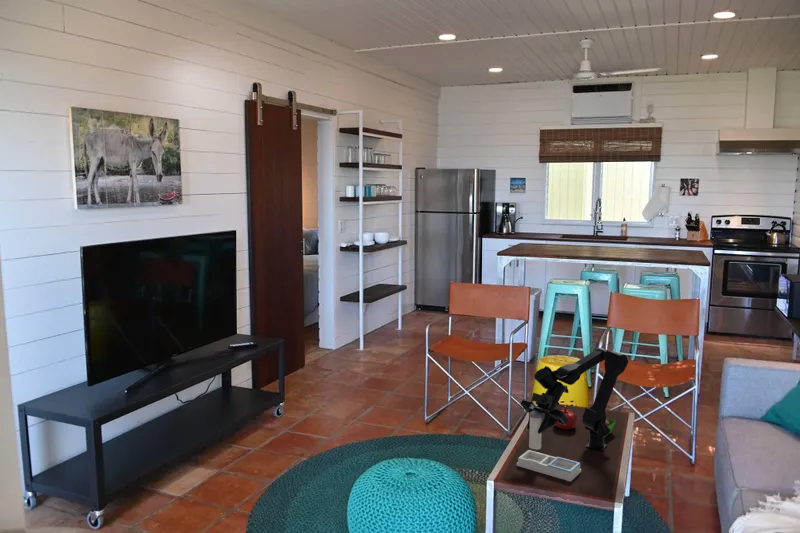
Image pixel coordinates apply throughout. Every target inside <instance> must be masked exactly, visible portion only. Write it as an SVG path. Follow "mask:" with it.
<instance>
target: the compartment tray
mask: <svg viewBox="0 0 800 533" xmlns="http://www.w3.org/2000/svg"><path fill="white" fill-rule="evenodd" d="M516 466H517V467H520V468H524V469H527V470H530V471H534V472H537V473H540V474H544V475H547V476H551V477H553V478H557V479H561V480H564V481H567V482H572V481H573V480H575V478H576V477H577V476H578V475H579V474H581V473H582V468H581V462H579V461H576V460H571V459H568V458H564V457H560V456H552V455H549V454H545V453H541V452H538V451H534V450H531V449H528V450H526V451H525V452H524V453H522V454H521V455H520V456H519V457H518V458H517V462H516Z"/></svg>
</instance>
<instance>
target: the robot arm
mask: <svg viewBox="0 0 800 533" xmlns="http://www.w3.org/2000/svg"><path fill="white" fill-rule="evenodd" d="M603 361H604V363H603V366H604V373H603V377H602V379H601V382H600V384H599V386H598V387H599V388H598V390H597V393H596V396H595V399H594V401H593V404H592V405H591V406H590V407H586V408H585V409H584V413H583V414H582V423H583V426H584V429H585V430H588V432H589V433H588V434H589V435H588V436H589V437H588V443H587V444H586V445H585V447H586V448H589V449H592V450H596V451H600V452H601V451H603V450H604V449H605V448H607V446H608V444H606V443H605V437H604V436H606V435H607V436H608V435H609V434H610V433H609V432H610V429H609V428H608V427H607V425H606V424H605V422H606V418H607V414H606V409H607V406H608V403H609V400H610V398H611V395H612V393H613V390H614V387H615V384H616V382H617V379H618V377H619V376H620V375H621V374H623V373H624V371H625V370H626V369H627V366H628V364H629V359H628V356H627V355H625V354H623V353H620V352H617V351H614V350H611V351H609V350H608V349H605V348H602V347H597V348H595V349H594V350H593V351H591V352H590V353H589V354H587V355H585V356H584V357H582V358H580V359H579V360H577V361H575V362H573V363H568V364H564V365H562V366H560V367H558V368H556V369H555V370H552V369H551V368H550V366H547V365H545V366H544V367H543V368H542V367H541V368H540V369H538V370H537V371H536V372H535V374H534V376H533V377H534V380H535V381H537V383H539V386H541V387H542V388H543V389H544V390H546V391H545V392H541V394H539V393H537V392H536V393H535V392H533V393H532V395H531V399H530V400H529V399H522V400H521V402H520V403H519V405H520V406H521V408H522V409H523V410H524V411H525V412H526V413H528V414H529V413H530V412H532V411H538V412H541V413H542V414H543V415H544V416H543V417H544V418H543V419H542V424H541V426H540V428H539V430H538V433H539V434H540V433H541V432H542V433H543V432H544V431H546V430H547V429H549V428H550V427H552V426H554V425H555V424H557V421H559V423H560V424H563V425H566V424H567V422H568V417H567V416H566V415H565V414H564V412H562V411H559V410H560V409H556V407H557V406H558V407H559V405H560V402H559V401H560V399H561V397H562V396H563V394H564V393H566V394H569V389H568V386H572V385H574V384H575V383H576V382H578V381H579V380H580V379H581V376H582V374H585V373H586V372H587V371H589V370H590V369H592V368H593V367H595V366H597V365H599V364H601V363H602V362H603ZM567 385H568V386H567ZM558 419H559V420H558ZM526 427H527V430H528V431H530V416H529V415H528V421H527V426H526ZM607 436H606V437H607Z"/></svg>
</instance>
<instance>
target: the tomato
mask: <svg viewBox="0 0 800 533" xmlns="http://www.w3.org/2000/svg"><path fill="white" fill-rule="evenodd" d="M561 409H562V410H560V409H558V410H559V411H562V412H564V414H565V415H566V416H567V417H568V422H567V424H566V425H563V424H560V423H559V421H557V424H554V425H555V426H556V427H557V428H559V429H562V430H572V429H575V428H576V427H577V424H578V418H577V415H576V414H575V411H573V409H571V408H569V409H567V406H566V405H564V407H561ZM558 420H559V419H558Z"/></svg>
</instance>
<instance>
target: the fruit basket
mask: <svg viewBox="0 0 800 533" xmlns="http://www.w3.org/2000/svg"><path fill="white" fill-rule="evenodd" d="M605 424H606V425H607V427H608V428H609V429H610V432H609V434H611V433H612V432H613V430H614V429H613V428H614V426H615V424H616V420H614V419H610V418H607V417H606V422H605ZM607 436H608V435H606V436H604V438H606V437H607Z"/></svg>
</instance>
